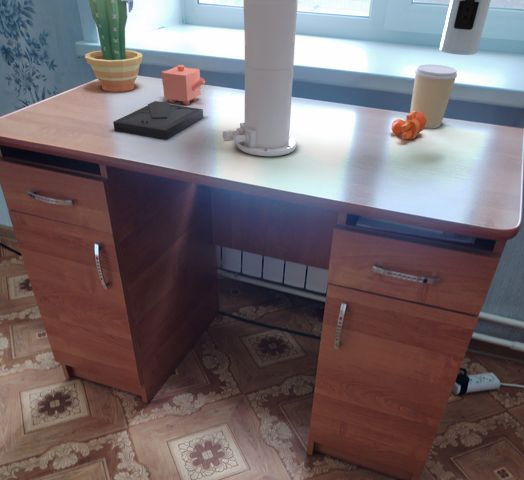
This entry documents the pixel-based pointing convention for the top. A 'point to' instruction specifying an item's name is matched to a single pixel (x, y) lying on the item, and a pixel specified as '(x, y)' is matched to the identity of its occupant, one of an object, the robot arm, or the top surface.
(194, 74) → the pink cube teapot
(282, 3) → the robot arm
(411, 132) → the orange lumpy piece
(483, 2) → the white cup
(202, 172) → the top surface
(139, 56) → the potted cactus
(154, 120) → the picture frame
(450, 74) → the coffee cup
